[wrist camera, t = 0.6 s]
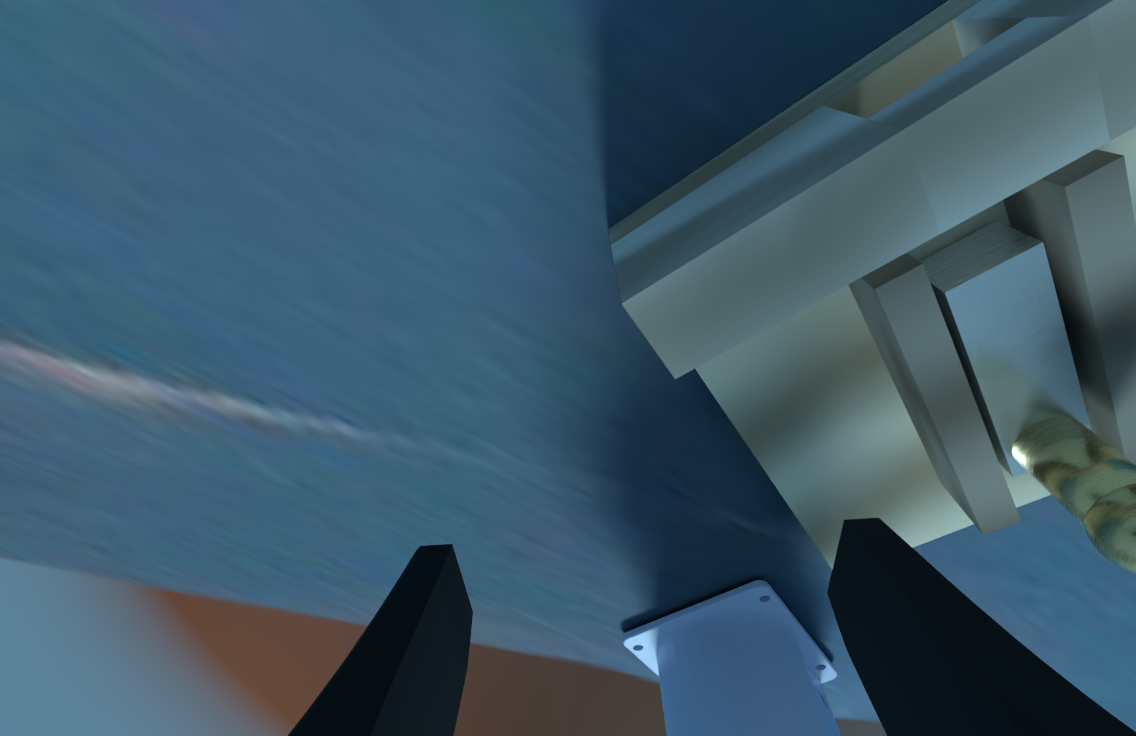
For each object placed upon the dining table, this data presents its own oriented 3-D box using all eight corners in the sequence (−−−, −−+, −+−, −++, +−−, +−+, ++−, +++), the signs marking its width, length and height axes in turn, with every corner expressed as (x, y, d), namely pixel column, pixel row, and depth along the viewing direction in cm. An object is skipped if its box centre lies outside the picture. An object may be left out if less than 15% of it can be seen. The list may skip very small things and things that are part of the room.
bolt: (1053, 415, 19) (1255, 576, 13) (979, 446, 19) (1142, 610, 14) (995, 220, 15) (1238, 328, 10) (908, 267, 16) (1088, 393, 10)
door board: (1244, 379, 20) (1450, 485, 15) (823, 548, 25) (881, 668, 20) (1207, -174, 12) (1601, -301, 8) (607, 229, 17) (621, 303, 12)
